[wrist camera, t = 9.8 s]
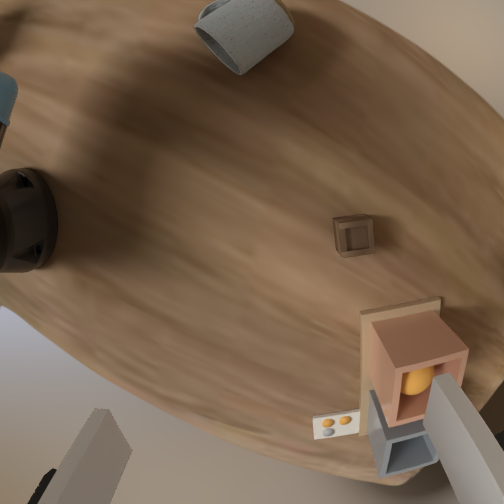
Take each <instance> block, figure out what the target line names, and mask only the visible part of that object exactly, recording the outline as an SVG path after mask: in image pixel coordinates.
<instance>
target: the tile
mask: <svg viewBox="0 0 504 504" xmlns="http://www.w3.org/2000/svg"><path fill="white" fill-rule="evenodd" d="M359 416H360V410H359V409H354V410H349V411H343V412H337V413H330V414H323V415H316V416H313V429H314V439H322V438H329V437H336V436H342V435H348V434H354V433H358V432H359Z"/></svg>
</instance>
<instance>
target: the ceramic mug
mask: <svg viewBox="0 0 504 504" xmlns="http://www.w3.org/2000/svg"><path fill="white" fill-rule="evenodd" d="M194 29H195V31H196V33H197V34H198V36H199V37H200V38H201V40H202V41H203V42H204V43H205V45H206V46H207V47H208V48H209V49H210V50H211V51H212V53H213V54H215V55H216V56H217V57H218V59H219V60H220V61H221V62H222V63H224V64H225V65H226V66H227V67H228V68H229V69H230V70H232V71H233V72H234V73H236V74H238V75H243V74H245V73H246V72H247V71H248V70H249V69H251V68H252V67H253V66H254V65H256V64H257V63H258V62H259V61H261V60H262V59H263V58H265V57H266V56H267V55H268V54H269V53H271V52H272V51H273V50H275V49H276V48H277V47H279V46H280V45H282V44H283V43H284V42H286V41H287V40H288V39H289V38H290V37H291V36H292V34H293V33H294V30H295V23H294V19H293V17H292V15H291V13H290V11H289V10H288V9H287V7H286V6H285V5H284V4H283V2H282V1H281V0H216V1H214V2H212V3H211V4H209V5H208V6H206V7H205V8H204V9H203V10H202V11H201V13H200V15H199V19H198V22H197V23H196V24H195V25H194Z"/></svg>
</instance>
